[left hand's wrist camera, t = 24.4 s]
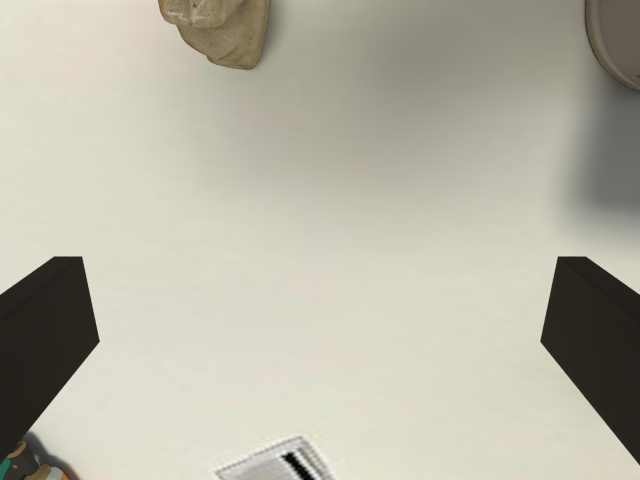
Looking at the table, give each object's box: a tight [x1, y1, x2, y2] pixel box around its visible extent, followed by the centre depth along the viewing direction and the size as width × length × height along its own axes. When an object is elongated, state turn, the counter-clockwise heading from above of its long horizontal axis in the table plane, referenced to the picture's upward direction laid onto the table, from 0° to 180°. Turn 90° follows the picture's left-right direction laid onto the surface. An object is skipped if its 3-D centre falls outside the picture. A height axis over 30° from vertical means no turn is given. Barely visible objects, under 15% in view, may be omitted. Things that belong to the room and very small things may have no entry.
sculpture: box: [158, 0, 270, 70], centre depth 28 cm, size 6×7×15 cm
